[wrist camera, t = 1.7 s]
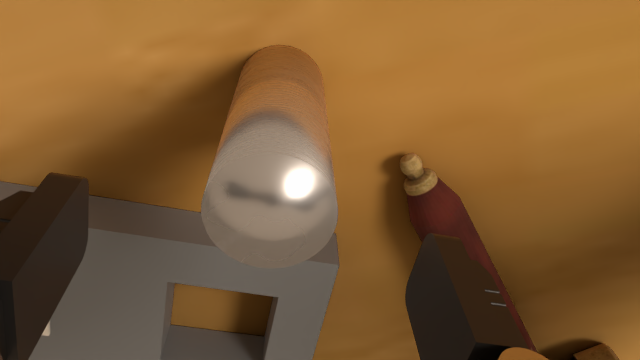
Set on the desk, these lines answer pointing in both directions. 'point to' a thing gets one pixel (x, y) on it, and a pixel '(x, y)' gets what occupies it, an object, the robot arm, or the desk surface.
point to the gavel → (461, 233)
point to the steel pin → (273, 165)
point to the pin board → (158, 289)
